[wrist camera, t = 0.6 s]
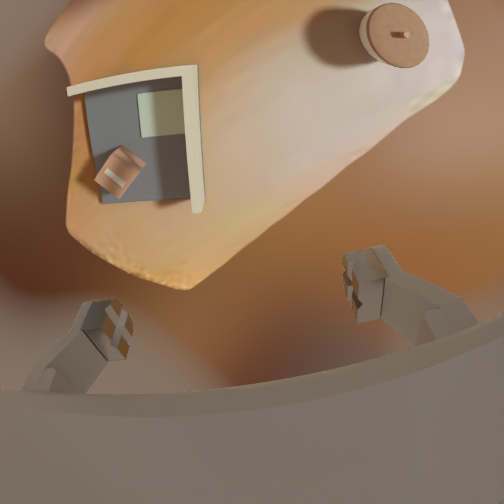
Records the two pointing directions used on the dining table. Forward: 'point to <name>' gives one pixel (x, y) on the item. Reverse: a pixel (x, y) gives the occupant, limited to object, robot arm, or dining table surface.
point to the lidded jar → (394, 35)
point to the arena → (149, 131)
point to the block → (119, 171)
